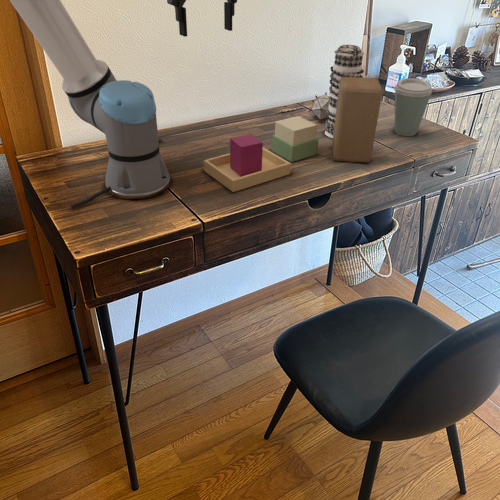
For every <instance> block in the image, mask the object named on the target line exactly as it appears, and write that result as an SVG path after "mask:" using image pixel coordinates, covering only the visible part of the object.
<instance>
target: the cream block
mask: <svg viewBox="0 0 500 500" xmlns="http://www.w3.org/2000/svg"><path fill="white" fill-rule="evenodd" d="M317 130H318V124H317V123H314V122H312V121H310V120H308V119H306V118H304V117H301V116H299V115H296V116H293V117H292V116H291V117H289V118H284V119H280V120H276V121H275V124H274V135H275V136H277V137H278V138H280V139H282V140H284V141H286V142H288V143H290V144H292V145H296V144H300V143H303V142H307V141H310V140H314V139H316V138H317Z"/></svg>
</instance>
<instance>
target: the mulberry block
mask: <svg viewBox="0 0 500 500" xmlns="http://www.w3.org/2000/svg"><path fill="white" fill-rule="evenodd" d="M263 147H264V143H263V141H261V140H260V139H259V138H257V137H256V136H254V135H253V134H251V133H250V134H245V135H240V136H235V137H230V138H229V153H230V168H231V169H232V170H234V171H235V172H236V173H237V174H238V175H239V176H240V177H242V176H246V175H249V174H252V173H256V172H259V171H262V150H263Z"/></svg>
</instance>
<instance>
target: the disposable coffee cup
mask: <svg viewBox="0 0 500 500" xmlns="http://www.w3.org/2000/svg"><path fill="white" fill-rule="evenodd" d="M393 90H394V132H395V134H397V135H400V136H403V137H413V136H415V135H416V134H417V133H418V131H419V128H420V125H421V123H422V120H423V118H424V115H425V111H426V109H427V107H428V103H429V101H430V98H431V95H432V93H433V88H432V86H431V85H430V82H427V81H425V80H423V79H419V78H414V77H413V78H411V77H410V78H409V77H408V78H402V79H399V80H398V81H397V83H396V85H395V86H394V89H393Z"/></svg>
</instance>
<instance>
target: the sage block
mask: <svg viewBox="0 0 500 500" xmlns="http://www.w3.org/2000/svg"><path fill="white" fill-rule="evenodd" d="M318 146H319V139H318V138H317V137H316V139H314V140H310V141H307V142H303V143H300V144H296V145H292V144H290V143H288V142H286V141H284V140H282V139H280V138H278V137H277V136H275V134H272V135H271V148H270V149H271V150H270V152H272V153H274V154H276V155H277V156H279V157H281V158H283V159H284V160H286V161H288V162H290V163H294V162H296V161H299V160H304V159H307V158H310V157H313V156H317V154H318V148H319V147H318Z"/></svg>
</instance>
